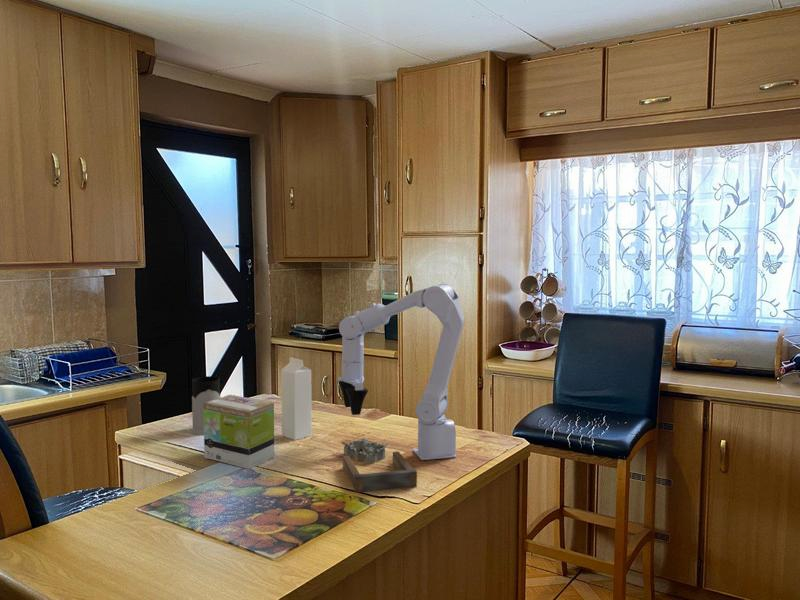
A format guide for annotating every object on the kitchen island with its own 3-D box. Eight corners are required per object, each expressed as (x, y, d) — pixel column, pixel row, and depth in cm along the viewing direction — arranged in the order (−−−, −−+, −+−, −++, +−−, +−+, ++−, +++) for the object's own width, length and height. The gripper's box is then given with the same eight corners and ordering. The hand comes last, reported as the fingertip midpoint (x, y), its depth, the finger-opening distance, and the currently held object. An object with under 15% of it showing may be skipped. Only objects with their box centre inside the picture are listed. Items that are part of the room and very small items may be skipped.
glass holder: (194, 436, 178) (192, 383, 176) (185, 423, 190) (184, 373, 189) (225, 432, 182) (224, 380, 180) (215, 419, 194) (214, 371, 193)
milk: (294, 440, 175) (294, 361, 173) (281, 435, 179) (280, 358, 177) (312, 435, 180) (311, 358, 177) (298, 431, 184) (297, 355, 181)
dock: (398, 463, 159) (398, 449, 158) (416, 486, 144) (416, 471, 143) (342, 468, 155) (342, 454, 154) (355, 492, 140) (355, 477, 140)
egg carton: (339, 456, 164) (339, 441, 163) (359, 449, 170) (359, 434, 169) (370, 466, 157) (370, 449, 157) (389, 458, 163) (390, 442, 162)
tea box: (202, 459, 160) (201, 402, 158) (230, 448, 169) (229, 393, 167) (249, 470, 153) (248, 410, 151) (276, 457, 162) (275, 400, 160)
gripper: (332, 356, 175) (332, 404, 177) (344, 366, 162) (343, 419, 163) (357, 355, 178) (356, 402, 179) (371, 365, 164) (370, 417, 165)
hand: (352, 410), depth 171 cm, fingers open, 7 cm apart
